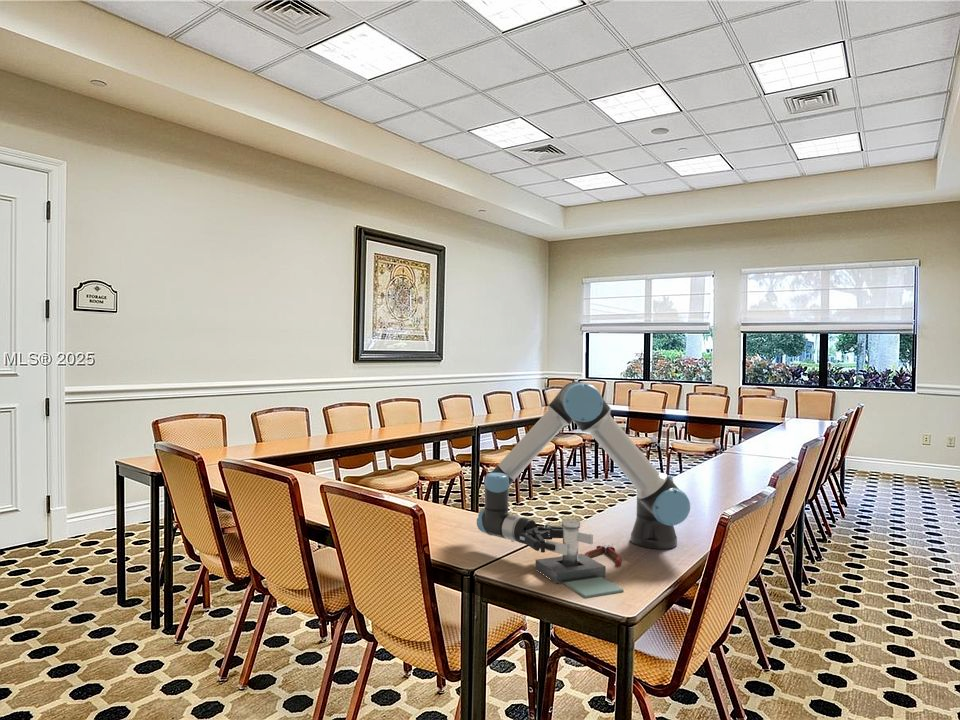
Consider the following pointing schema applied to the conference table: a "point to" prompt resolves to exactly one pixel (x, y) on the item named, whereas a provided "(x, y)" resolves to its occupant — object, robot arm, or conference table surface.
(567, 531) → the steel pin
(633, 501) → the conference table surface
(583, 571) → the socket plate
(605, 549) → the pliers
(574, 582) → the rubber mat
